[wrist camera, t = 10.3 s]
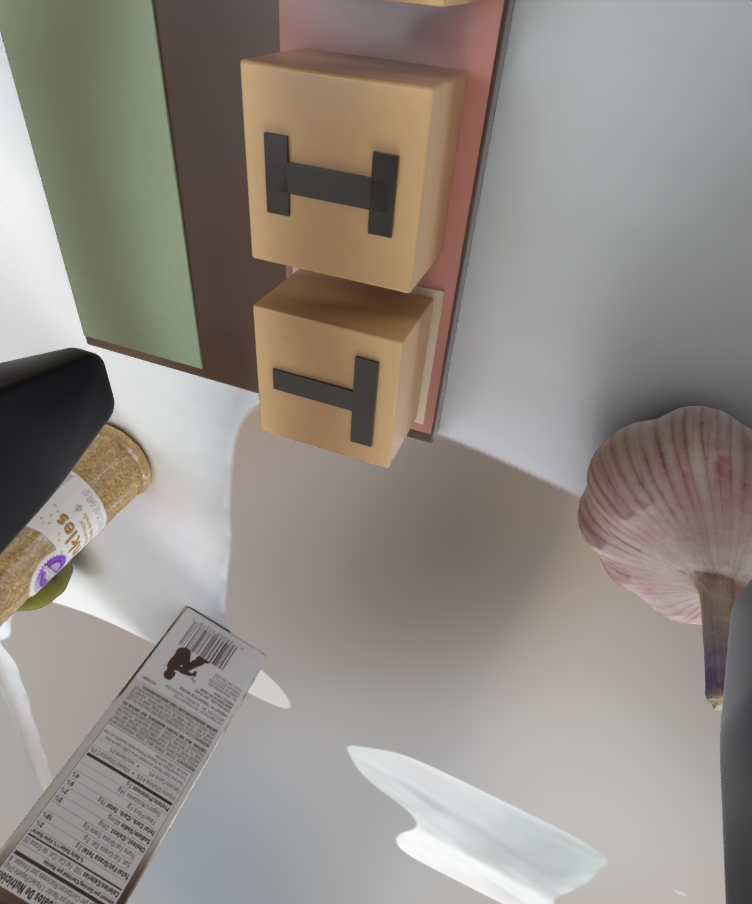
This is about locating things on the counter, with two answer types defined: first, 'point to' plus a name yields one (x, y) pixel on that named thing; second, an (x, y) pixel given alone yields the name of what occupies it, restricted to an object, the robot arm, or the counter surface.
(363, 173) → the tile
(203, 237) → the letter board
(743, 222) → the counter surface
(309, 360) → the tile
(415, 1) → the tile
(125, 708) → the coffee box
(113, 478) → the sprinkles bottle
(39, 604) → the lime
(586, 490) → the garlic bulb
